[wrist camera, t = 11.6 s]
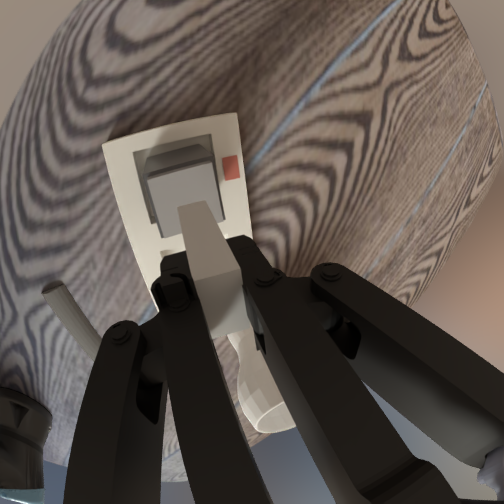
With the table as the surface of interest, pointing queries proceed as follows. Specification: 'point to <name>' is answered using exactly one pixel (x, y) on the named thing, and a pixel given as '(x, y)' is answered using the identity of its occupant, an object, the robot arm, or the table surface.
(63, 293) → the gray half cylinder
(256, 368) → the cup
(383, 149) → the table surface
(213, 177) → the plug
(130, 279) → the table surface
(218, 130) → the socket plate
